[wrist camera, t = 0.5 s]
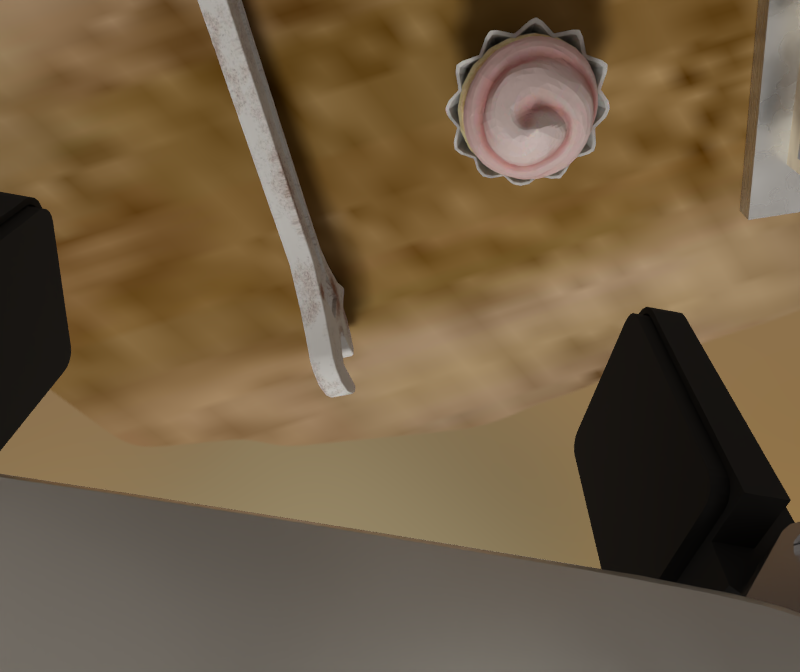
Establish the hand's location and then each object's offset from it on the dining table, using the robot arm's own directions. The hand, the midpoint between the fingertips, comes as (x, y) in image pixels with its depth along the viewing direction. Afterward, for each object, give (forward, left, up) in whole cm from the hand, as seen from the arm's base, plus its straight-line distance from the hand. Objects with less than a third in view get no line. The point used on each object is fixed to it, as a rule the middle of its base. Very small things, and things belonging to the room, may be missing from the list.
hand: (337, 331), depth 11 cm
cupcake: (+5, +6, -35) cm, 35 cm away
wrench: (+8, -10, -35) cm, 37 cm away
